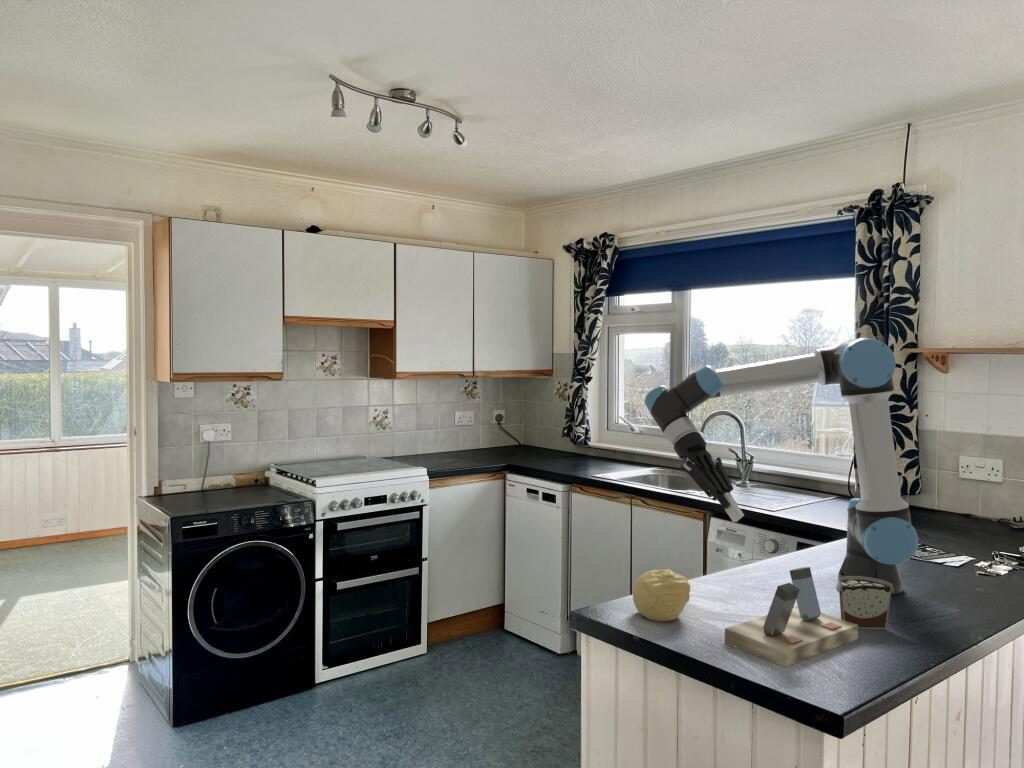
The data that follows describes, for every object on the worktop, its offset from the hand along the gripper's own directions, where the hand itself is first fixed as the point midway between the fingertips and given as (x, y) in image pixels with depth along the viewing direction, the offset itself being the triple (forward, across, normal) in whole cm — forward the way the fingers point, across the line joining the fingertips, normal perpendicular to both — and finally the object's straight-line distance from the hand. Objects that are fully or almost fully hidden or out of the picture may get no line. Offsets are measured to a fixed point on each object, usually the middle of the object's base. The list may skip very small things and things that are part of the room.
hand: (738, 518), depth 171 cm
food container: (+30, -15, 0) cm, 34 cm away
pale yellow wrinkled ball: (+11, +20, -19) cm, 30 cm away
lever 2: (+27, 0, +1) cm, 27 cm away
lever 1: (+26, +14, +1) cm, 30 cm away
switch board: (+29, +7, -1) cm, 30 cm away
